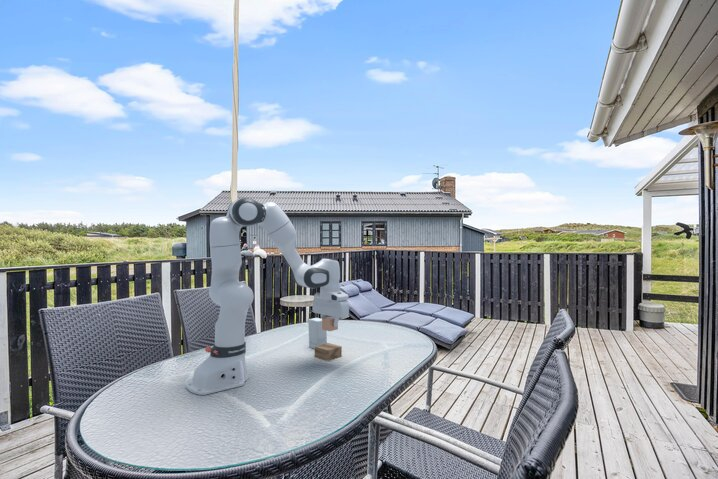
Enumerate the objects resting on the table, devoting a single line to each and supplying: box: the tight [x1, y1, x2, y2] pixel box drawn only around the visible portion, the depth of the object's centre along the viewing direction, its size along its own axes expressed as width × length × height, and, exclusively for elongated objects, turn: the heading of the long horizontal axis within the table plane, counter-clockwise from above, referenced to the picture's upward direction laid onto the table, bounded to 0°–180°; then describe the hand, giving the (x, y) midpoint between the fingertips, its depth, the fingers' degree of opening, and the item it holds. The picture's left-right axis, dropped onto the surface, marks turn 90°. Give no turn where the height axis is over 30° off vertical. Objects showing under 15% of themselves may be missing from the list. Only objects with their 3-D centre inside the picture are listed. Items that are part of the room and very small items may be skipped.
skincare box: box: [308, 317, 328, 350], centre depth 185 cm, size 8×6×15 cm
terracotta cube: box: [322, 316, 339, 332], centre depth 160 cm, size 5×5×5 cm
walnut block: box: [314, 342, 343, 362], centre depth 171 cm, size 9×9×5 cm
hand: (329, 325), depth 160 cm, fingers closed on terracotta cube, 5 cm apart
